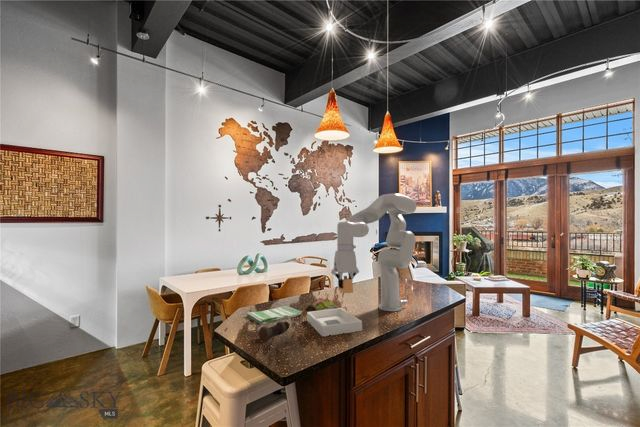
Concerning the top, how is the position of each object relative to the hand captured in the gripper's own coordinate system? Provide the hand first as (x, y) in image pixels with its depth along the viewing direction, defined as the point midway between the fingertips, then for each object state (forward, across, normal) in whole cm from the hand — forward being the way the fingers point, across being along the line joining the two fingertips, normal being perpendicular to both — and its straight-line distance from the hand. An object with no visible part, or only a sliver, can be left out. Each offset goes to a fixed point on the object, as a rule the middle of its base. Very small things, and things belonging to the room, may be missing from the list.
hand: (345, 287), depth 139 cm
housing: (+16, +7, +2) cm, 18 cm away
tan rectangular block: (+2, 0, +1) cm, 3 cm away
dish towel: (+17, +29, -24) cm, 41 cm away
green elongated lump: (+17, +3, -22) cm, 27 cm away
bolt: (+18, +33, +2) cm, 37 cm away
